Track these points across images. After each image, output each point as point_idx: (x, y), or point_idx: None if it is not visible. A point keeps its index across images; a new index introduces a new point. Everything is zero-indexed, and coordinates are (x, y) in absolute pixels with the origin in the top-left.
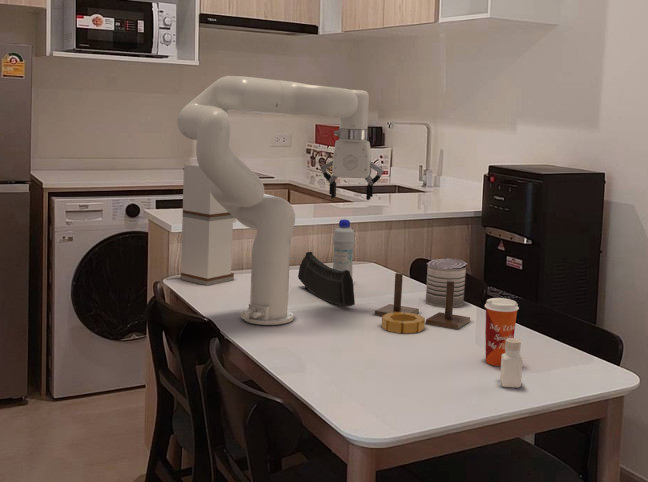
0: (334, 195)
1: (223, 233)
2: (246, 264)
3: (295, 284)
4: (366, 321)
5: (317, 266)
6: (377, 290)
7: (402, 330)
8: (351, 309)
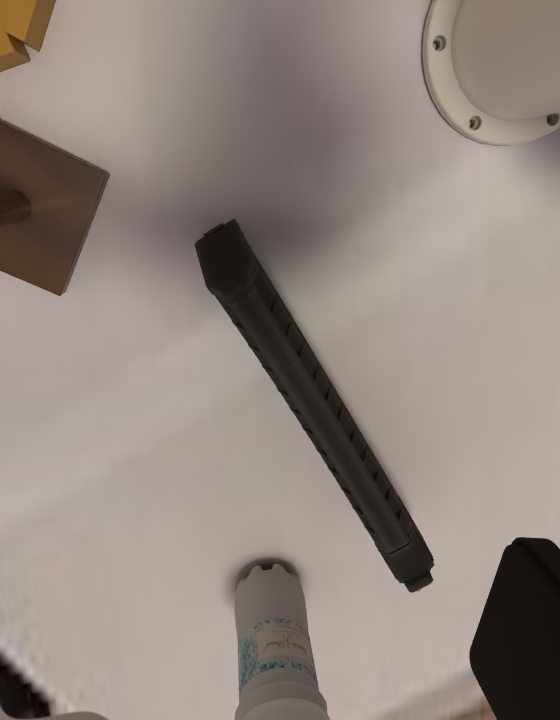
0: (509, 596)
1: None
2: None
3: None
4: (131, 64)
5: (373, 477)
6: (139, 524)
7: None
8: None
